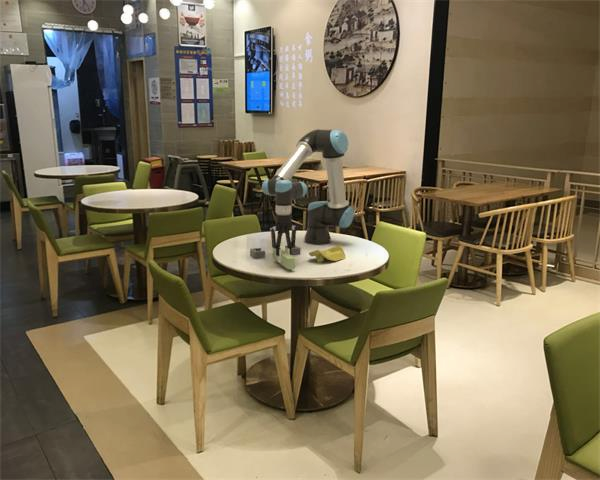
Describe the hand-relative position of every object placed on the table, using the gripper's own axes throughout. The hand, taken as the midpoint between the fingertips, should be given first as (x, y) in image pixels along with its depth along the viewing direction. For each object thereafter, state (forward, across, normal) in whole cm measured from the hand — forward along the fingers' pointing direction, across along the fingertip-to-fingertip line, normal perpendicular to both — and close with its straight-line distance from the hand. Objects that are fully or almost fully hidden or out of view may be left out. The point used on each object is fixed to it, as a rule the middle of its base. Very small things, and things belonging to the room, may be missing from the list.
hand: (283, 261), depth 247 cm
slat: (+1, 0, 0) cm, 1 cm away
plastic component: (+3, +24, +4) cm, 25 cm away
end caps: (+3, +4, +21) cm, 21 cm away
